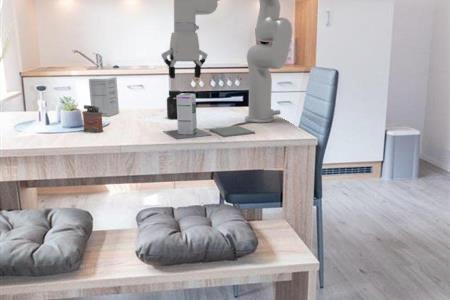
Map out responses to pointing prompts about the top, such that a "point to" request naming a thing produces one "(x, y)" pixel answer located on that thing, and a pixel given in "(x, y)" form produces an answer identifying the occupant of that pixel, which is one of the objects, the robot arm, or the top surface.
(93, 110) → the lighter
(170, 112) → the supplement bottle
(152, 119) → the top surface
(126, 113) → the top surface
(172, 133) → the card
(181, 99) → the syrup box
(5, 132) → the top surface
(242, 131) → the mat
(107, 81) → the supplement box
